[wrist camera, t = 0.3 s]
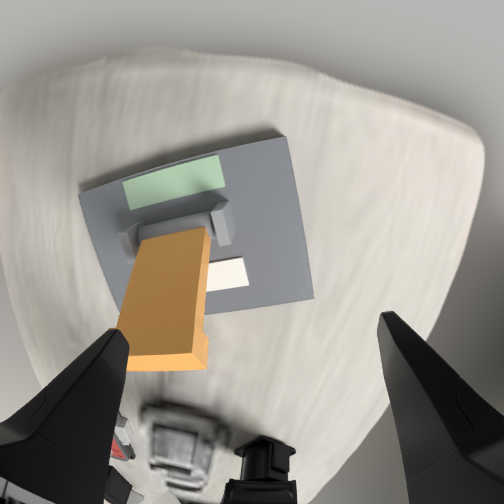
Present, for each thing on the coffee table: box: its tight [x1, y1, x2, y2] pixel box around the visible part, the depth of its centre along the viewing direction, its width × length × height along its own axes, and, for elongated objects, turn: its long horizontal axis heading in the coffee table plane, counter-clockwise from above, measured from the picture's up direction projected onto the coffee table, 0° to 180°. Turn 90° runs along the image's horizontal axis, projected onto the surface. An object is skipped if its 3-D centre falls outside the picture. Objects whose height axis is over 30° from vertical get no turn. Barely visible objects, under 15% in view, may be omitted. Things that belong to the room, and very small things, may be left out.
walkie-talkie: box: [110, 412, 136, 461], centre depth 34 cm, size 9×4×20 cm
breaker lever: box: [108, 211, 217, 371], centre depth 18 cm, size 2×6×11 cm, turn 102°
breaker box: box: [78, 136, 314, 315], centre depth 22 cm, size 13×18×4 cm
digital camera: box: [104, 465, 133, 504], centre depth 42 cm, size 10×5×7 cm, turn 7°
